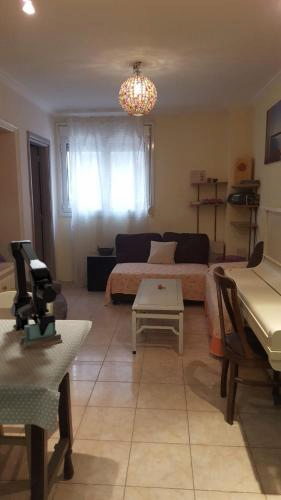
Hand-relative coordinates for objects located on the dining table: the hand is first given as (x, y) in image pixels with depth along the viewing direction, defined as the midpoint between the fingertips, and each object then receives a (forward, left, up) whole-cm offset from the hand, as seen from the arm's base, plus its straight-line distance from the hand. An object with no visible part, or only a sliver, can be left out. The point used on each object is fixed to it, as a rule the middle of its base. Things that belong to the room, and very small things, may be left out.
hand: (40, 334), depth 150 cm
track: (0, 0, -4) cm, 4 cm away
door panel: (0, 0, -2) cm, 3 cm away
